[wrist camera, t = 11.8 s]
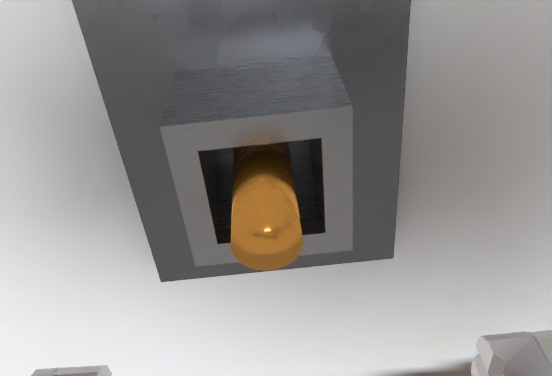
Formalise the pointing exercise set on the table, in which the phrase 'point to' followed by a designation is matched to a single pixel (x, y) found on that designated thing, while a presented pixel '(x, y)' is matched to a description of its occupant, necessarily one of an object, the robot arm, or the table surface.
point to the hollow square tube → (254, 131)
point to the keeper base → (240, 41)
